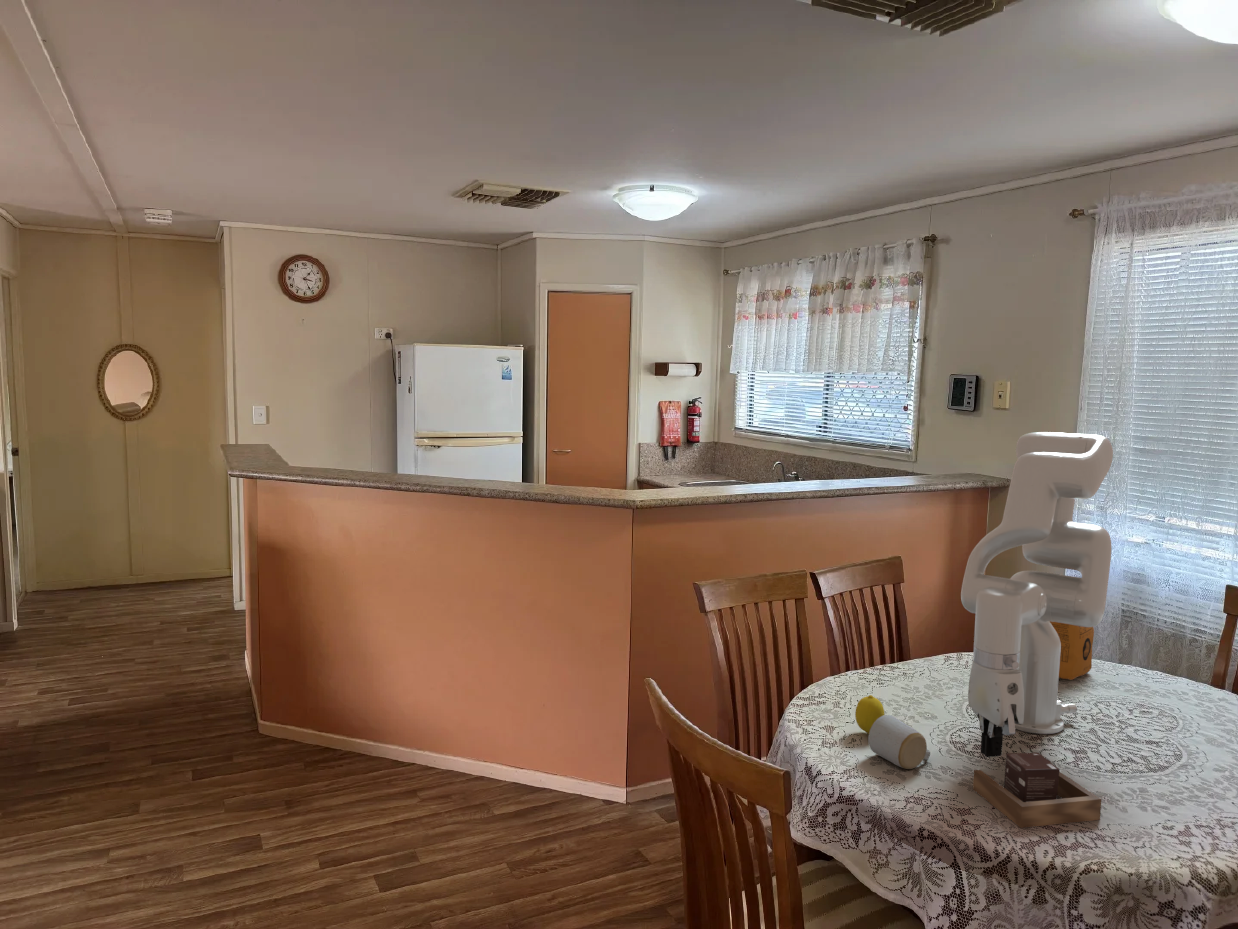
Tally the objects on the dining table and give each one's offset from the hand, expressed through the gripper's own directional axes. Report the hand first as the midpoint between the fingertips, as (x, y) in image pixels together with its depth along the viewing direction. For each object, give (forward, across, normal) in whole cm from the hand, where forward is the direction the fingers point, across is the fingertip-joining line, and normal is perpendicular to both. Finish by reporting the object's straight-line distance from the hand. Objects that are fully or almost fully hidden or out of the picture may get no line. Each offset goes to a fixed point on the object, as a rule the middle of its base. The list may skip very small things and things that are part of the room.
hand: (991, 754), depth 151 cm
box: (+3, -12, +1) cm, 12 cm away
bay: (+2, -13, +1) cm, 13 cm away
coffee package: (+5, +41, -49) cm, 64 cm away
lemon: (+3, +17, +15) cm, 23 cm away
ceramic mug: (+3, +6, +14) cm, 16 cm away
